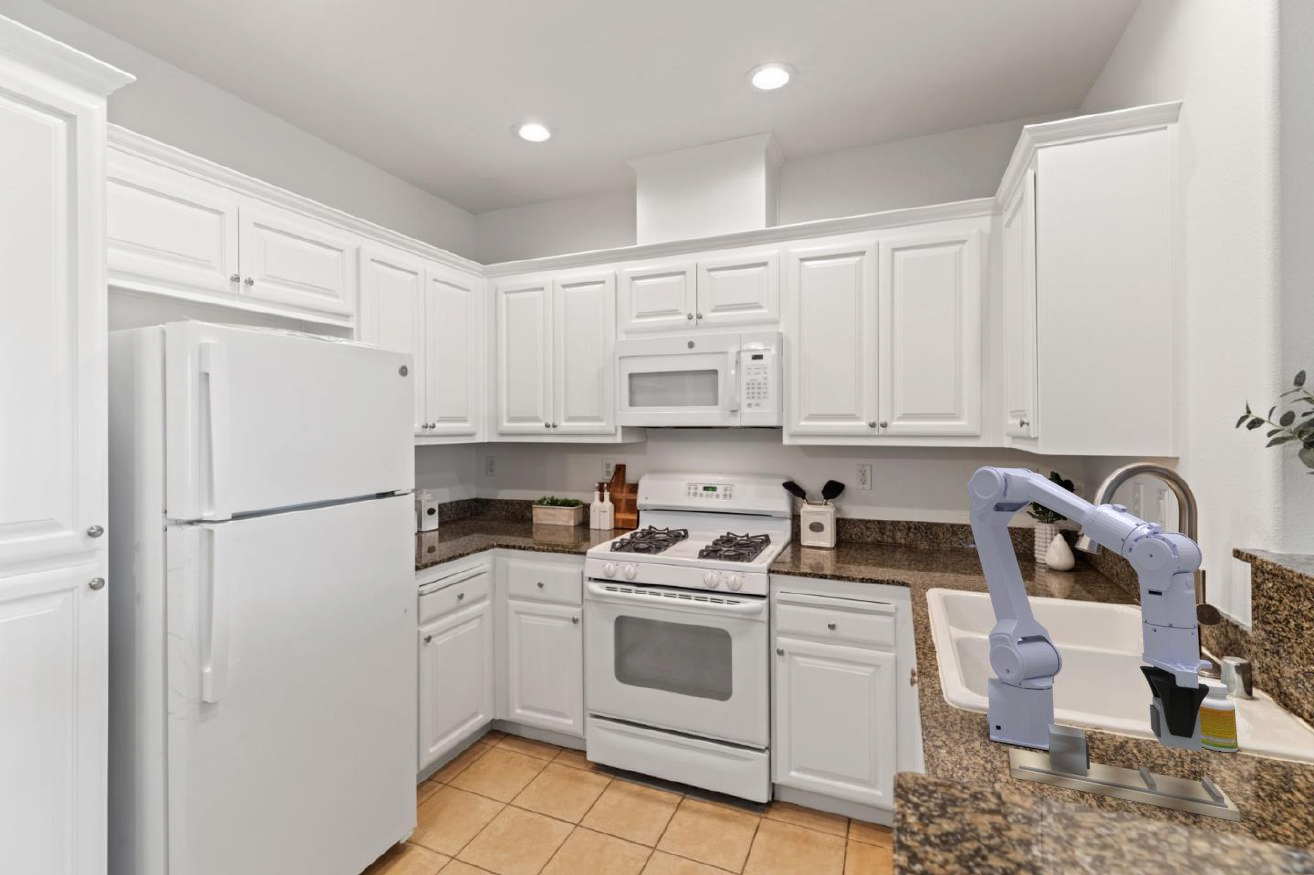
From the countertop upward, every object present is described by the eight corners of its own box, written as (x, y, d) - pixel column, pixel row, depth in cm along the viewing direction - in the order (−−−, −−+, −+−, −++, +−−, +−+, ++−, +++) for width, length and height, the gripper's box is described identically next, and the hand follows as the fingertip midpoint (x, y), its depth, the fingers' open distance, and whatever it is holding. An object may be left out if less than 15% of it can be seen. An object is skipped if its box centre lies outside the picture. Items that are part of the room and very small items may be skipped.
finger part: (1158, 745, 80) (1155, 705, 80) (1151, 734, 83) (1148, 696, 84) (1202, 751, 78) (1199, 711, 78) (1192, 741, 81) (1190, 702, 82)
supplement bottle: (1247, 755, 94) (1242, 689, 95) (1206, 751, 95) (1202, 686, 96) (1222, 741, 99) (1218, 679, 100) (1184, 738, 100) (1180, 677, 101)
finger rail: (1011, 776, 85) (1009, 730, 86) (1009, 756, 92) (1007, 713, 93) (1240, 822, 74) (1236, 768, 75) (1218, 794, 81) (1214, 745, 82)
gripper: (1227, 638, 74) (1236, 756, 72) (1191, 618, 86) (1198, 718, 85) (1153, 631, 77) (1160, 744, 76) (1129, 613, 90) (1135, 709, 88)
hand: (1176, 730), depth 81 cm, fingers closed on finger part, 4 cm apart
